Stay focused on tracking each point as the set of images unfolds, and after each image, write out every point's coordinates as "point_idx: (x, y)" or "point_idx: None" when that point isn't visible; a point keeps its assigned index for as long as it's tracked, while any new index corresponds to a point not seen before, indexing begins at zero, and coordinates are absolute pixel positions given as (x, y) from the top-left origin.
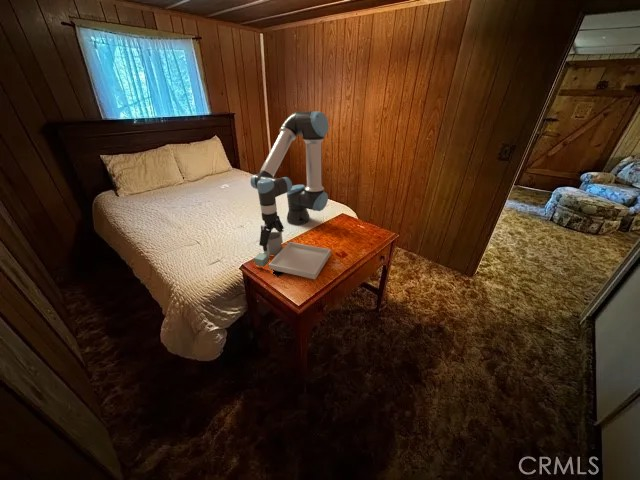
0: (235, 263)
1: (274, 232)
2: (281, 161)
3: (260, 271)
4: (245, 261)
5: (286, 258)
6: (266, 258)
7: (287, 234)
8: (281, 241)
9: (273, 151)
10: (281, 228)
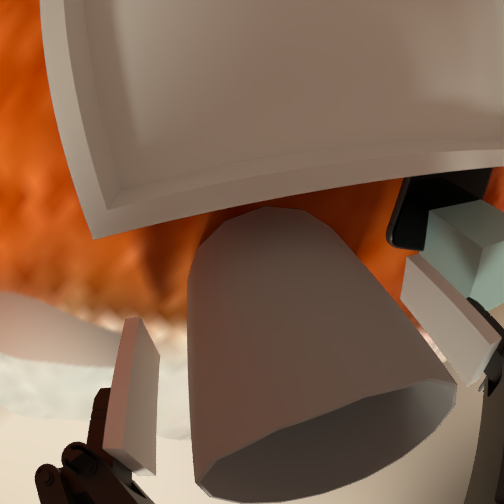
0: (442, 355)
1: (219, 492)
2: None
3: (497, 197)
4: (426, 339)
5: (404, 55)
6: (489, 231)
7: (8, 360)
8: (139, 337)
9: None
10: (75, 489)
